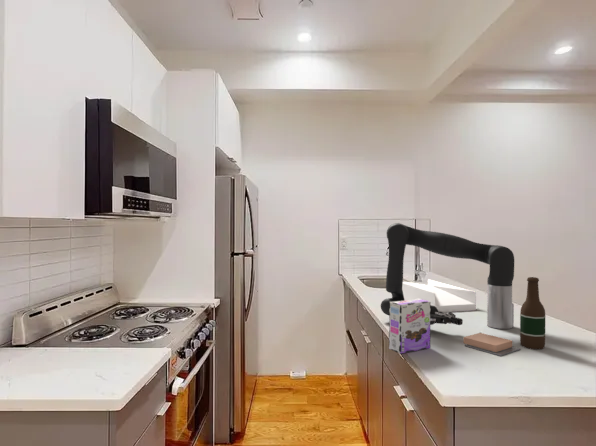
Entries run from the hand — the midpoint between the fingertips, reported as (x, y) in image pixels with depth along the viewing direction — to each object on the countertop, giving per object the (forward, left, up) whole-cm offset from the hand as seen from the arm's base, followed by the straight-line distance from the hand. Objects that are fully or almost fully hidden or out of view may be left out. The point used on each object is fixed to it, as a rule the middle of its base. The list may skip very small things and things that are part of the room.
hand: (461, 322), depth 155 cm
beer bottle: (-17, +16, -7) cm, 24 cm away
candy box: (+24, +1, -7) cm, 25 cm away
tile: (-1, +4, -5) cm, 7 cm away
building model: (-37, -59, -7) cm, 70 cm away
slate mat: (-2, +12, -6) cm, 14 cm away
